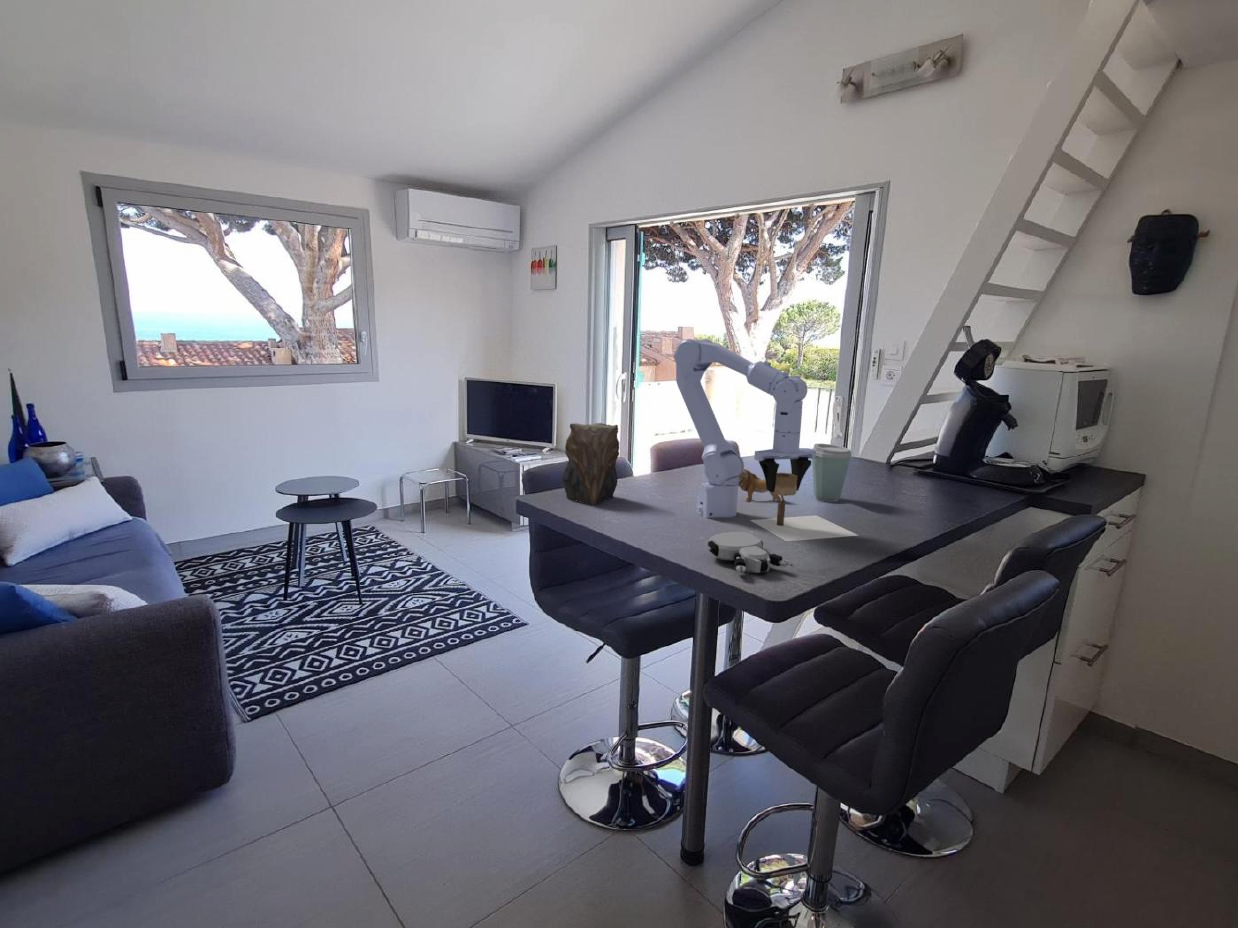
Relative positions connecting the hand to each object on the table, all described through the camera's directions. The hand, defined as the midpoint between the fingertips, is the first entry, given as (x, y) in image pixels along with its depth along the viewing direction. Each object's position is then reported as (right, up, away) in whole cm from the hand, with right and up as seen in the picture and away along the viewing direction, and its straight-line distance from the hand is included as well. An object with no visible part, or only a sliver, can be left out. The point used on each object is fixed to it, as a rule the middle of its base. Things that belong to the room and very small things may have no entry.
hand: (782, 490), depth 145 cm
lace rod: (0, -8, +2) cm, 8 cm away
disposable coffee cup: (+20, -4, +31) cm, 37 cm away
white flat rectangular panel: (+5, -10, 0) cm, 11 cm away
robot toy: (-13, -14, -20) cm, 28 cm away
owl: (-45, -4, +25) cm, 52 cm away
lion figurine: (0, -5, +25) cm, 26 cm away
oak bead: (0, 0, 0) cm, 0 cm away
